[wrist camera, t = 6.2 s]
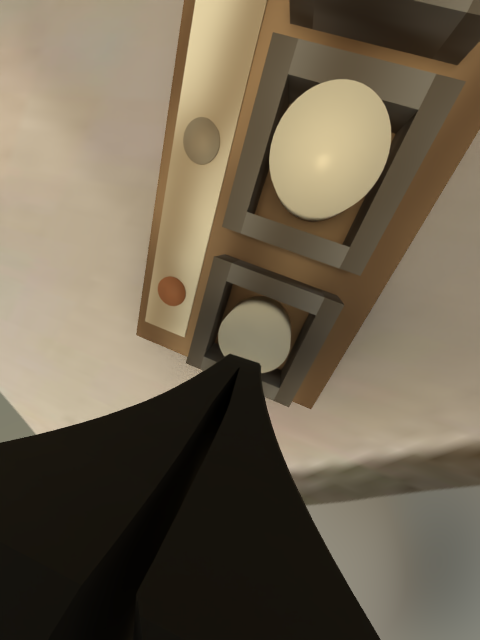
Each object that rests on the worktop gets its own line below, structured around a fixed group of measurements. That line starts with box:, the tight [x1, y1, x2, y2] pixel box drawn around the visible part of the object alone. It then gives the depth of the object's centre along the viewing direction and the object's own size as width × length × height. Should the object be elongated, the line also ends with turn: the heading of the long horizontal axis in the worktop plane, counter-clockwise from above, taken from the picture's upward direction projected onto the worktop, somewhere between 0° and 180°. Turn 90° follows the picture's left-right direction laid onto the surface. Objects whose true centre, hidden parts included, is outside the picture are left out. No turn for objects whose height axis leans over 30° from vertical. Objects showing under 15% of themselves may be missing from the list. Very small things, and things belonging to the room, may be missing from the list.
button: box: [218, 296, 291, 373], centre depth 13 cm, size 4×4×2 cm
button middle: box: [269, 79, 391, 221], centre depth 9 cm, size 4×4×2 cm
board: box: [136, 0, 480, 409], centre depth 11 cm, size 14×26×3 cm, turn 162°
